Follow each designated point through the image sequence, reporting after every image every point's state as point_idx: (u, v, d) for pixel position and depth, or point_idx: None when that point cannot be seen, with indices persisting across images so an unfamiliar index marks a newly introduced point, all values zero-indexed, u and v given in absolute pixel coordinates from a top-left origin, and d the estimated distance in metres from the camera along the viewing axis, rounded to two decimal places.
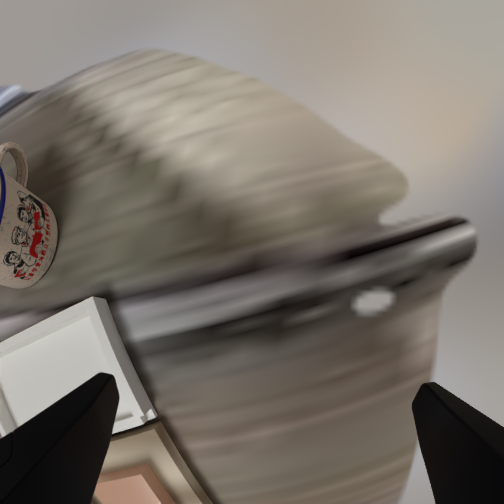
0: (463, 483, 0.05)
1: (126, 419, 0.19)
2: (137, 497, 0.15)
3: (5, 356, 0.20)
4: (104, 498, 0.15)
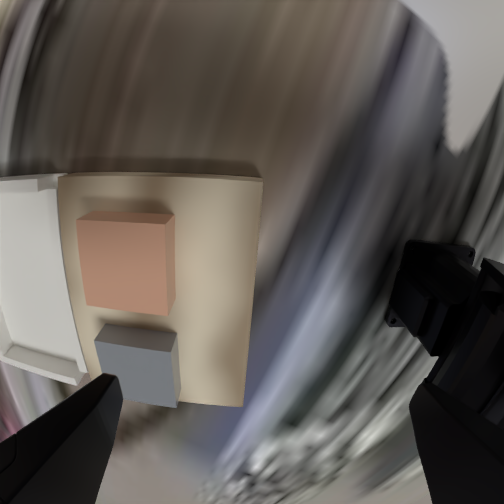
0: (460, 484, 0.05)
1: (48, 207, 0.16)
2: (108, 249, 0.15)
3: (5, 321, 0.20)
4: (106, 298, 0.15)
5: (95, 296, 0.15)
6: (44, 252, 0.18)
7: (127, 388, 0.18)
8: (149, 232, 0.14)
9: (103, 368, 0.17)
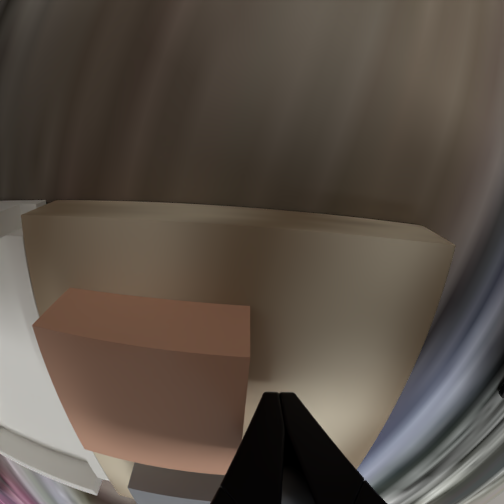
0: None
1: (14, 269, 0.08)
2: (111, 389, 0.06)
3: None
4: (119, 449, 0.07)
5: (98, 443, 0.07)
6: (21, 333, 0.10)
7: None
8: (208, 370, 0.06)
9: None
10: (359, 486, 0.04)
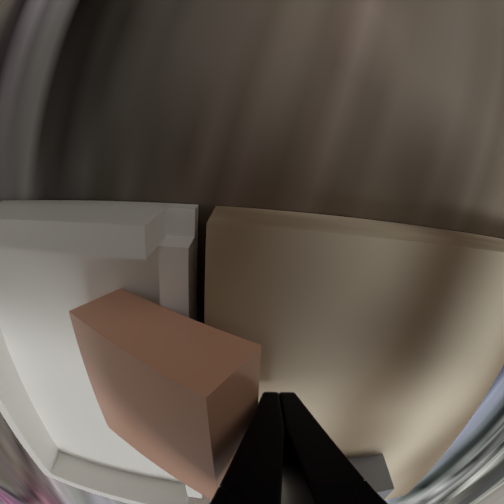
0: None
1: (161, 287, 0.08)
2: (116, 382, 0.07)
3: (46, 428, 0.12)
4: (129, 437, 0.08)
5: (115, 426, 0.08)
6: None
7: None
8: (175, 395, 0.06)
9: None
10: (359, 486, 0.04)
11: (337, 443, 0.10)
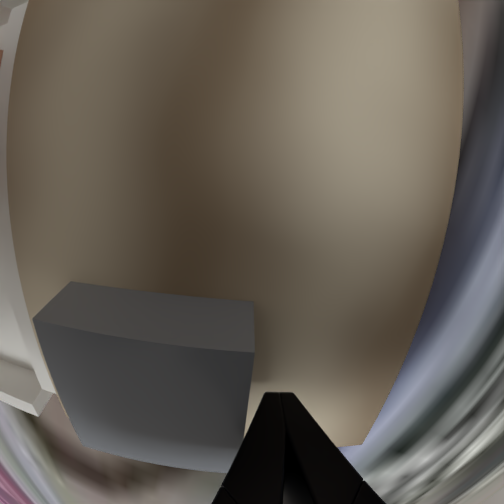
0: None
1: (5, 39, 0.05)
2: None
3: None
4: None
5: None
6: None
7: (122, 437, 0.07)
8: None
9: (62, 392, 0.06)
10: (358, 486, 0.04)
11: (165, 243, 0.07)
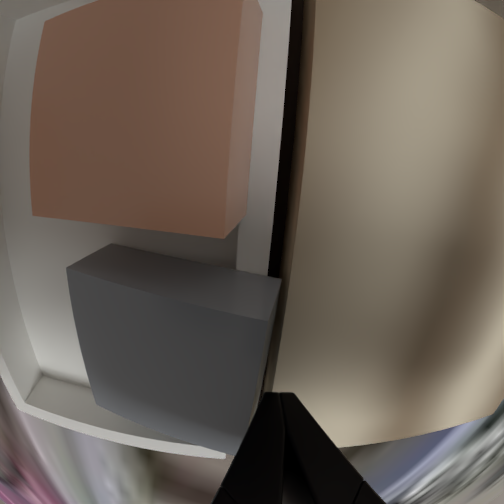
0: None
1: (259, 0, 0.05)
2: (89, 59, 0.05)
3: (27, 327, 0.10)
4: (68, 192, 0.06)
5: (48, 189, 0.06)
6: None
7: (134, 399, 0.08)
8: None
9: (84, 344, 0.07)
10: (358, 486, 0.04)
11: (459, 266, 0.07)
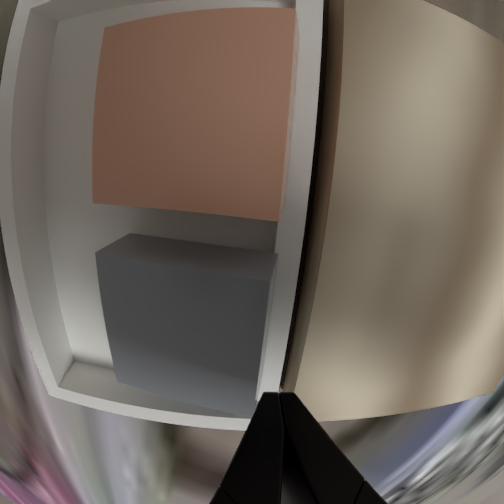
0: None
1: None
2: (157, 67, 0.06)
3: (63, 313, 0.11)
4: (135, 182, 0.07)
5: (113, 179, 0.07)
6: None
7: (154, 369, 0.09)
8: (258, 22, 0.05)
9: (109, 321, 0.09)
10: (359, 486, 0.04)
11: (458, 250, 0.09)
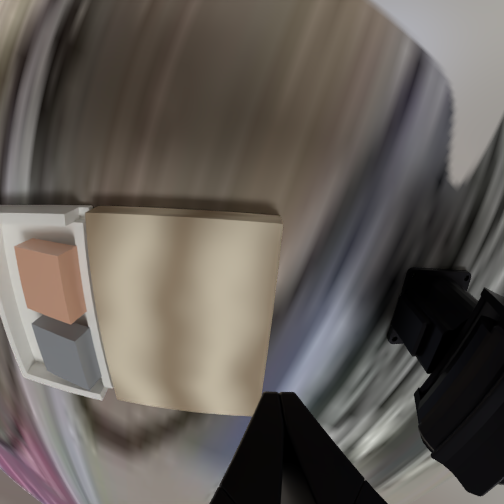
0: None
1: (75, 239, 0.18)
2: (32, 270, 0.17)
3: (28, 340, 0.22)
4: (36, 305, 0.18)
5: (30, 302, 0.18)
6: None
7: (56, 366, 0.20)
8: (50, 261, 0.17)
9: (40, 347, 0.20)
10: (359, 486, 0.04)
11: (164, 334, 0.20)
